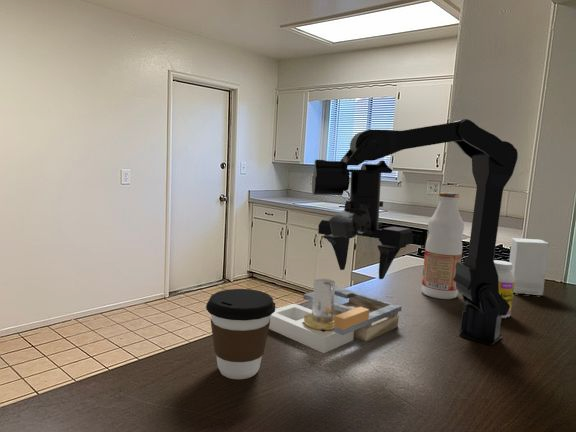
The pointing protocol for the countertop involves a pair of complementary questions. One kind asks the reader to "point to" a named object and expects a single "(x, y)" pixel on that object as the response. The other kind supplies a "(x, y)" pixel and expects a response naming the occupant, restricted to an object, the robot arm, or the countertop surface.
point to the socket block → (373, 328)
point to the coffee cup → (240, 330)
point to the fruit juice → (443, 249)
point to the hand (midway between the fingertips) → (361, 274)
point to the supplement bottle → (505, 282)
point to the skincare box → (528, 265)
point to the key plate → (362, 297)
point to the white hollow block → (305, 329)
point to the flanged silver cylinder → (322, 306)
